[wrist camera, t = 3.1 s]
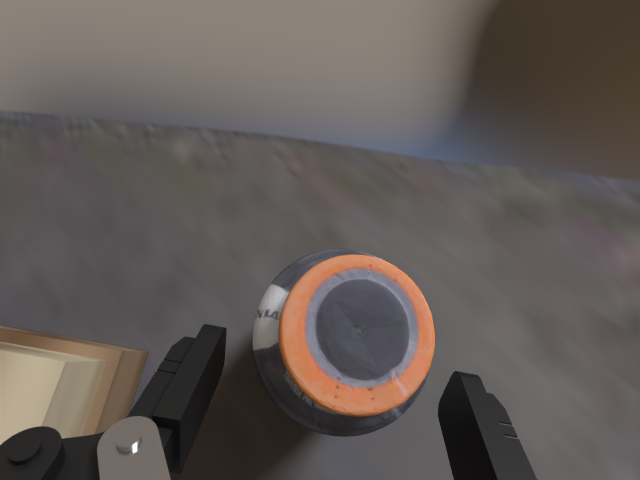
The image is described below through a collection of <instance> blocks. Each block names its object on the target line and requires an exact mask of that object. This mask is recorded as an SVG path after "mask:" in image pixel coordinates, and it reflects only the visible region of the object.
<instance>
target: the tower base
mask: <svg viewBox="0 0 640 480" xmlns="http://www.w3.org/2000/svg"><path fill="white" fill-rule="evenodd" d="M147 354H148V352H147V351H142V350H136V349H131V348H125V347H119V346H114V345H108V344H102V343H97V342H91V341H86V340H80V339H74V338H69V337H63V336H58V335H52V334H46V333H41V332H35V331H29V330H24V329H18V328H13V327H7V326H1V325H0V445H1V444H2V443H3V442H4V441H6V440H7V439H8V438H10V437H11V436H13V435H15V434H17V433H19V432H21V431H23V430H26V429H29V428H33V427H39V426H47V427H51V428H54V429H56V430H57V431H58V432H59V433H60V435H61V438H62V439H64V438H71V437H79V436H87V435H93V434H98V433H101V432H104V431H106V430H107V429H108V428H109V427H111V426H112V425H113V424H115V423H116V422H118V421H120V420H122V419H125V418H126V417H127V416H128V415H129V413H130V409H131V406H132V403H133V400H134V396H135V393H136V390H137V387H138V383H139V380H140V377H141V374H142V371H143V367H144V364H145V361H146V358H147Z"/></svg>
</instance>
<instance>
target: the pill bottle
mask: <svg viewBox="0 0 640 480" xmlns="http://www.w3.org/2000/svg"><path fill="white" fill-rule="evenodd" d="M434 346H435V332H434V325H433V320H432V314H431V312H430V309H429V307H428V304H427V302H426V300H425V298H424V296H423V294H422V293H421V291H420V290H419V288H418V287H417V286H416V284H415V283H414V282H413V281H412V280H411V279H410V278H409V277H408V276H407V275H406V274H405V273H404V272H402V271H401V270H399V269H398V268H397V267H395V266H394V265H392V264H390V263H388V262H386V261H384V260H382V259H380V258H378V257H376V256H374V255H371V254H368V253H365V252H361V251H357V250H350V249H330V250H324V251H319V252H315V253H312V254H310V255H307V256H305V257H303V258H301V259H299V260H297V261H295V262H294V263H292V264H291V265H289V266H288V267H286V268H285V269H284V270H283V271H282V272H280V274H279V275H278V276H277V277H276V278H275V279H274V280H273V282H272V283H271V284H270V286H269V288H268V289H267V291H266V293H265V294H264V296H263V298H262V300H261V302H260V305H259V307H258V310H257V313H256V317H255V322H254V328H253V356H254V361H255V365H256V368H257V371H258V375H259V377H260V380H261V382H262V384H263V386H264V388H265V390H266V391H267V393H268V394H269V396H270V397H271V399H272V400H273V401H274V403H275V404H276V405H277V406H278V407H279V408H280V409H281V410H282V411H283V412H284V413H285V414H286V415H287V416H288V417H290V418H291V419H293V420H294V421H295V422H297V423H299V424H301V425H302V426H304V427H306V428H308V429H310V430H313V431H316V432H319V433H322V434H326V435H331V436H345V437H346V436H357V435H362V434H367V433H370V432H374V431H376V430H378V429H380V428H383V427H385V426H387V425H389V424H390V423H392V422H393V421H395V420H396V419H397V418H398V417H399V416H401V415H402V414H403V413H404V412H405V411H406V410H407V409H408V408H409V407H410V406H411V404H412V403H413V402H414V401H415V399H416V398H417V396H418V395H419V393H420V391H421V389H422V387H423V385H424V383H425V381H426V378H427V375H428V372H429V368H430V365H431V361H432V357H433V353H434Z"/></svg>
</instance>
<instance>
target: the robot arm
mask: <svg viewBox="0 0 640 480" xmlns="http://www.w3.org/2000/svg"><path fill="white" fill-rule="evenodd" d="M225 345H226V328H224V327H218V326H213V325H207V324H204V325H203V326H202V328H201V330H200V331H199V333H198V335H197V337H196V338H191V337H184V338H182V339H181V340H180V341H178V342H177V343H176V344H174V345H173V346H172V347H171V349H170V350H169V352H168V353H167V355H166V357H165V358H164V361H162V363H161V364H160V366H159V368H158V369H157V372H155V374H154V376H153V377H152V379H151V380H150V382H149V383H148V385H147V387H146V388H145V390H144V391H143V393H142V395H141V396H140V398H139V399H138V401H137V402H136V404H135V406H134V407H133V409H132V410H131V412H130V413H129V415H128V416H127V417H126V418H125V419H122V420H120V421H118V422H116V423H115V424H113V425H112V426H111V427H109V428H108V429H107V430H106V431H104V432H101V433H98V434H93V435H87V436H79V437H71V438H64V439H62V438H61V435H60V433H59V432H58V431H57V430H56V429H54V428H51V427H47V426H39V427H33V428H29V429H26V430H23V431H21V432H19V433H17V434H15V435H13V436H11V437H10V438H8V439H7V440H6V441H4V442H3V443H2V444H1V445H0V480H171V478H170V475H169V473H170V472H175V473H180V474H181V471H182V469H183V466H184V464H185V462H186V459H187V457H188V454H189V452H190V449H191V447H192V445H193V442H194V440H195V437H196V435H197V433H198V430H199V428H200V425H201V423H202V420H203V418H204V416H205V413H206V411H207V408H208V406H209V404H210V401H211V399H212V396H213V394H214V391H215V389H216V387H217V384H218V382H219V379H220V377H221V374H222V370H223V366H224V360H225ZM438 417H439V422H440V426H441V430H442V434H443V438H444V442H445V446H446V450H447V454H448V458H449V462H450V466H451V470H452V474H453V478H454V480H537V478H536V476H535V474H534V472H533V470H532V467H531V465H530V463H529V461H528V458H527V456H526V454H525V452H524V450H523V447H522V445H521V443H520V441H519V439H517V434H516V432H515V430H514V428H513V427H512V426H511V424H512V423H511V421H510V419H509V417H508V414H507V412H506V410H505V408H504V407H503V406H502V404H501V403H500V402H499V401H498V400H497V398H496V397H495V396H494V395H493V394H490V393H486V390H485V388H484V385H483V383H482V381H481V379H480V377H479V376H478V375H474V374H469V373H463V372H458V371H455V372H453V374H452V376H451V378H450V380H449V382H448V384H447V386H446V388H445V390H444V393H443V395H442V397H441V399H440V402H439V406H438Z"/></svg>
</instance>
